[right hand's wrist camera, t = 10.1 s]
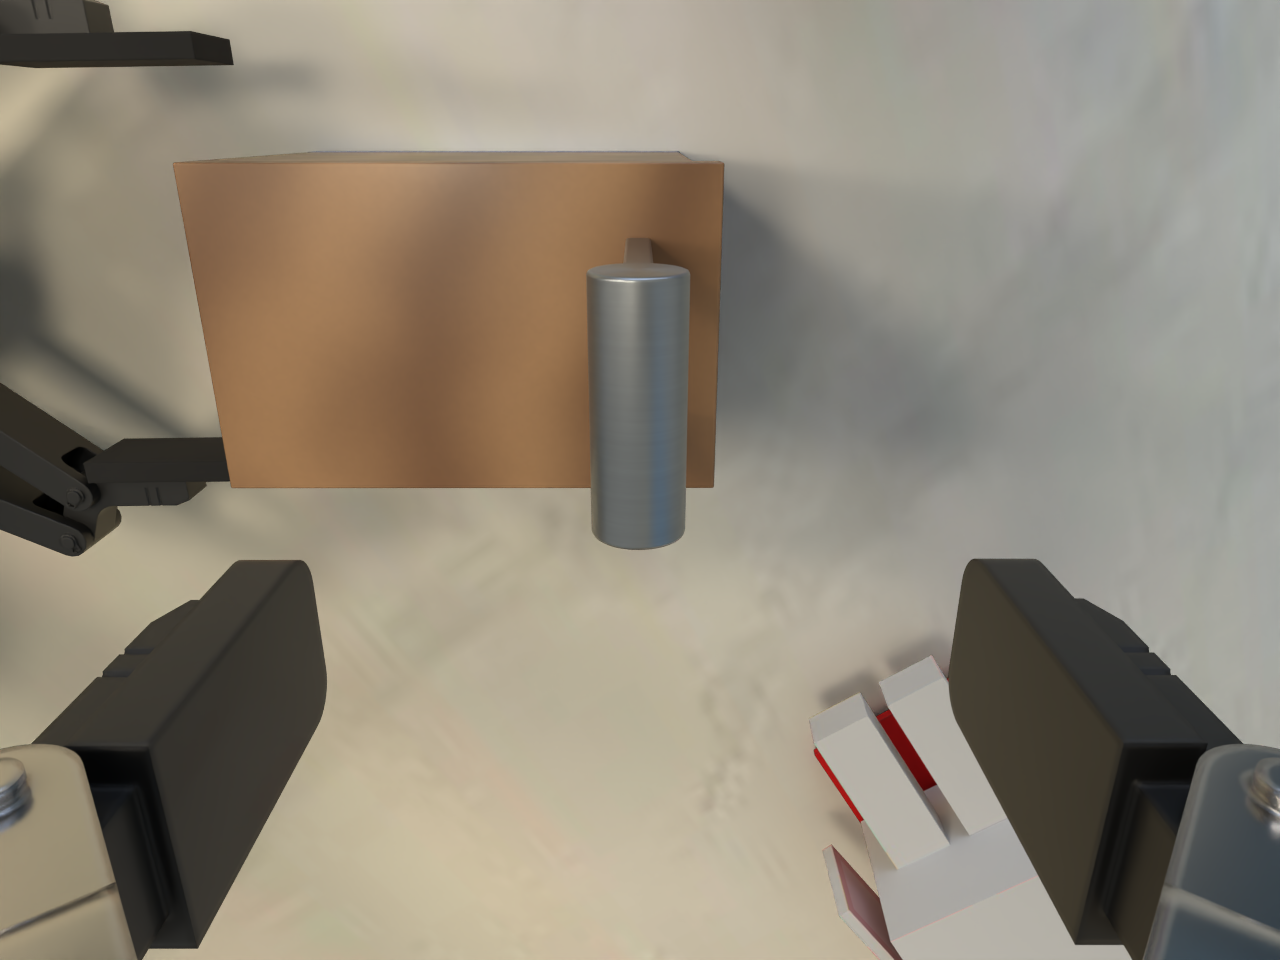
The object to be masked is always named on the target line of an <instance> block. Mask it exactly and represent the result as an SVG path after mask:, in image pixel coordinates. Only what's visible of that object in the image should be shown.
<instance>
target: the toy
mask: <svg viewBox="0 0 1280 960" xmlns="http://www.w3.org/2000/svg"><path fill="white" fill-rule="evenodd" d="M879 684H880V687H881V690H882V693H883V695H884V698H885V701H886V703H887V706H888V708H889V710H887V711H885V712H884V713H882V714H880V715H878V716H875V715H874V713H873V712H872V710H871V708H870V707H869V705H868V704H867V702H866V701H865V699H864V697H863V696H862V694H861V693H860V692H859V693H857V694H855V695H853V696H851V697H849V698H847V699H845V700H843V701H842V702H840V703H838V704H836V705H834V706H832V707H830V708H828V709H826V710H824V711H822V712H820V713H818V714H816V715H814V716H812V717H811V718H809V721H810V726H811V731H812V737H813V742H814V744H815V746H816V747H817V748H816V749H814V754H815V756H816V758H817V759H818V761H819V762H820V764H821V765H822V767H823V768H824V770H825V771H826V773H827V774H828V776H829V777H830V779H831V780H832V782H833V783H834V785H835V786H836V787H837V789H838V790H839V792H840V793H841V795H842V796H843V798H844V799H845V801H846V802H847V804H848V805H849V807H850V808H851V810H852V811H853V813H854V814H855V816H856V817H857V819H858V820H859V822H860V823H861V826H862V830H863V834H864V838H865V842H866V845H867V849H868V853H869V857H870V861H871V865H872V869H873V873H874V877H875V881H876V885H877V889H878V893H879V897H880V898H879V897H878V896H877V895H876V894H875V892H874V891H873V890H872V889H871V888H870V887H869V886H868V885H867V884H866V882H865V881H864V880H863V879H862V878H861V877H860V876H859V875H858V874H857V872H856V871H855V870H854V869H853V868H852V867H851V866H850V865H849V864H848V862H847V861H846V860H845V859H844V858H843V857H842V856H841V855H840V853H839V852H838V851H837V850H836V849H835V848H834V847H833V846H832V845H830V846H828V847H827V848H825V849H824V850H823V854H824V858H825V862H826V866H827V870H828V874H829V878H830V882H831V886H832V890H833V894H834V898H835V902H836V906H837V910H838V914H839V917H840V918H841V919H842V920H843V921H844V922H845V923H846V924H847V925H848V926H849V927H850V929H851V930H852V931H853V932H854V933H855V934H856V935H857V936H858V937H859V938H860V939H861V940H862V942H863V943H864V944H865V945H866V946H867V947H868V948H869V949H870V950H871V951H872V952H873V954H874V955H875V956H876V957H877V958H878V959H879V960H1132V959H1131V957H1130V955H1129V953H1128V952H1127V950H1126V948H1125V947H1124V945H1075V944H1074V942H1073V940H1072V938H1071V936H1070V935H1069V933H1068V931H1067V929H1066V927H1065V925H1064V923H1063V921H1062V920H1061V918H1060V916H1059V914H1058V912H1057V910H1056V908H1055V906H1054V905H1053V903H1052V901H1051V899H1050V897H1049V895H1048V893H1047V891H1046V889H1045V888H1044V886H1043V884H1042V882H1041V880H1040V878H1039V876H1038V874H1037V873H1036V871H1035V869H1034V867H1033V865H1032V863H1031V861H1030V859H1029V858H1028V856H1027V854H1026V852H1025V850H1024V848H1023V846H1022V844H1021V843H1020V841H1019V839H1018V837H1017V835H1016V833H1015V831H1014V829H1013V827H1012V826H1011V824H1010V822H1009V820H1008V818H1007V816H1006V814H1005V812H1004V811H1003V809H1002V807H1001V805H1000V803H999V801H998V799H997V797H996V796H995V794H994V792H993V790H992V788H991V786H990V784H989V782H988V781H987V779H986V777H985V775H984V773H983V771H982V769H981V767H980V765H979V764H978V762H977V760H976V758H975V756H974V754H973V752H972V750H971V749H970V747H969V745H968V743H967V741H966V739H965V737H964V735H963V734H962V732H961V730H960V728H959V726H958V724H957V722H956V720H955V717H954V714H953V711H952V707H951V702H950V696H949V682H948V678H947V679H946V677H945V676H944V674H943V673H942V671H941V669H940V668H939V666H938V664H937V663H936V661H935V660H934V658H933V656H932V655H931V656H929V657H927V658H925V659H923V660H921V661H919V662H917V663H915V664H913V665H911V666H909V667H907V668H905V669H904V670H902V671H900V672H898V673H896V674H894V675H892V676H890V677H888V678H886V679H884V680H882V681H880V682H879Z"/></svg>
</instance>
